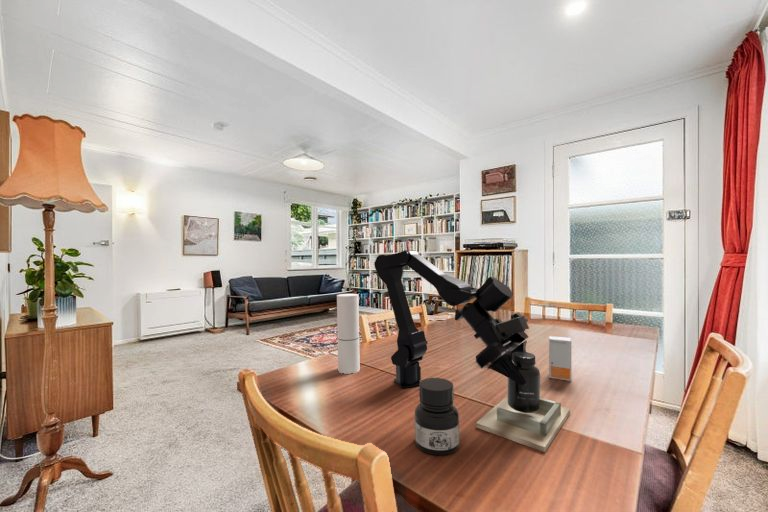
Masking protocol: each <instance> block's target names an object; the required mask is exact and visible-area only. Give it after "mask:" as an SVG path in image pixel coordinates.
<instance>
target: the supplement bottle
mask: <svg viewBox="0 0 768 512" xmlns="http://www.w3.org/2000/svg"><path fill="white" fill-rule="evenodd" d="M512 362H513V363H514V365H515V366H516V368H517V369H518V371H519V372H520V374H521V375H522V377H523V378H524V380H525V381H526V383H525V384H524V385H520V384H519V383H517V382H515V381H513V380H511V379H510V378H508V377H507V394H506V396H507V400H508V405H509V406H510V407H511V408H512V409H514V410H516V411H519V412H523V413H534V412H537V411H538V410H539V408H540V398H541V372H540V369H539V368H538V367H537V366H535V365H536V364H537V363H536V354H533V353H532V352H529V351H528V352H527V351H526V352H514V353H513V358H512Z"/></svg>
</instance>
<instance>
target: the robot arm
mask: <svg viewBox="0 0 768 512" xmlns="http://www.w3.org/2000/svg"><path fill="white" fill-rule="evenodd" d="M373 263H374V264H373V265H374V269H375V271H376V273H377V276H378V277H379V278H380V280H382V282H383V284H385V286H386V290H387V293H388V298H389V301H390V305H391V308H392V312H393V316H394V318H395V322H396V326H397V329H398V332H397V333H398V334H397V339H396V346H397V350H395V352H394V353H393V354H392V355H391V356H390V359H391V360H390V361H391V363H392V365H393V366H394V365H395V376H396V377H395V378H394V379H393V381H394V382H395V383H396V384H397V385H398V386H399V387H400V388H401V389H407V388H412V387H417V386H419V382H421V380H422V377H421V376H422V371H421V370H422V368H421V366H420V361H423V358H424V356H425V354H426V352H427V351H428V345H427V344H429V342H428V341H427V338H426V335H425V331H424V330H423V329H422V330H419V329H418V328H417V326H415V323H414V322H415V321H414V318H413V316H412V312H411V308H410V306H409V302H408V300H407V295H406V292H405V288H404V285H403V281H402V278H403V273H404V268H405V267H409V268H410V269H411V270H412V271H414V273H416V274H417V275H419V276H420V277H422V278H423V279H424V280H425V281H427V282H428V283H429V284H430V285H431V286H433V288H435V289H436V291H437V294H438V296H439V297H440V298H441V299H442V300H443V301H444V302H445V303H446V304H447V305H449V306H450V307H457V306H460V305H463V307H461V308H457V309H455V314H454V315H455V316H454V321H455V322H456V321H460V320H463V319H464V320H465V322H466V323H467V324H468V326H470V328H471V329H472V330H473V331H474V333H475V334H474V335H473V337H474V338H475V339H480V340H481V341H482V343H483V344H484V345H485V346H486V347H485V348H484V349H482V350H481V351H480V352H479V353H478V354H476V355H475V363H476V364H477V365H478V367H479V368H480V369H481V370H482V369H484V368H485V367H487V369H488V370H493V371H495V372H496V373H498V374H500V375H502V376H504V377H506V378H507V379H508V378H510V379H511V380H513V381H515V382H517V383H519V384H520V385H524V384H525V383H526V381H525V380H524V378H523V377H522V375H521V374H520V372H519V371H518V369H517V368H516V366H515V365H514V363H513V362H512V358H513V353H514V352H527V350H526V349H527V343H528V340H526V339H528V338H529V335H528V334H527V333H526V332H525V331H526V330H529V329H530V327H529V325H528V323H527V322H528V320H529V319H528V318H527V317H526V316H525V315H522V314H521V313H520V312H516V313H513V314H511V315H510V319H508V320H505V321H502V320H501V319H500V318H495V317H493V316H492V314H491V313H490V312H494V313H495V312H497V311H499V310H500V308H502V307H503V306H504V305H506V303H508V302H509V301H510V300H511V299H512V298H513V296H514V294H513V292H512V290H511V288H510V287H509V286H508V285H507V284H505V283H503V282H502V281H500V280H498V279H497V278H496V277H495V276H489V277H488V278H487V279H486V280H485V281H484V283H483V284H482V285H481V286H480V287H478V288H476V287H473V286H471V285H470V284H469V283H468V282H465V281H464V280H461V279H460V278H457V277H454V276H451V275H449V274H446V273H445V272H443V271H442V270H441V269H440V268H438V267H437V266H435V265H434V264H432V263H431V262H430V261H429V260H427V259H426V258H424V257H423V256H421V255H420V254H419V253H418V252H417V251H416V250H413V249H411V250H409V249H408V250H406V249H404V250H402V251H401V252H396V253H393V254H378V255H377V256H376V259H375V261H374V262H373ZM473 299H474V300H473ZM471 300H473V301H472V302H470V301H471ZM489 364H490V365H489Z"/></svg>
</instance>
